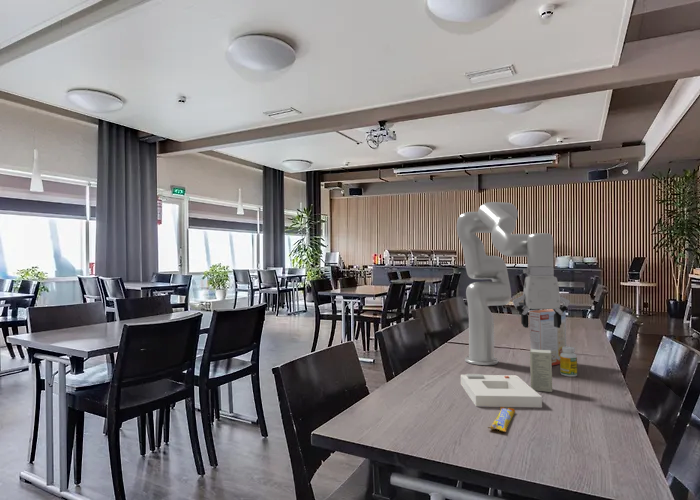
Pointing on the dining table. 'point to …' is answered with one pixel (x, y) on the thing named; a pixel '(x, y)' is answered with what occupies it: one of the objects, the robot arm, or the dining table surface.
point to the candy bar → (503, 419)
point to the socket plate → (500, 391)
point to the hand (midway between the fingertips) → (541, 327)
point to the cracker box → (547, 333)
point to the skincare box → (541, 370)
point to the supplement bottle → (568, 362)
